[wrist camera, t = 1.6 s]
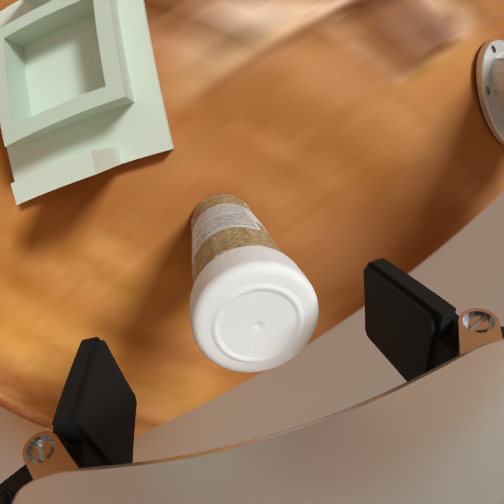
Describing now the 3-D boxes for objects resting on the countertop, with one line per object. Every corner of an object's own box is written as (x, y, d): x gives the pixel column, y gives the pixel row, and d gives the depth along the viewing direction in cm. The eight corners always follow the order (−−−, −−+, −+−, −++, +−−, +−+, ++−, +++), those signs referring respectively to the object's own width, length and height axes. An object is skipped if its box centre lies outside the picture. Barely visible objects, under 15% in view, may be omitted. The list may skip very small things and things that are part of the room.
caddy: (137, -40, 15) (123, -91, 8) (174, 148, 21) (165, 153, 14) (0, 19, 13) (-47, -5, 7) (27, 198, 19) (-25, 224, 13)
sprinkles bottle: (253, 250, 24) (316, 367, 12) (192, 255, 24) (198, 383, 11) (252, 189, 23) (327, 258, 10) (187, 193, 22) (183, 271, 9)
